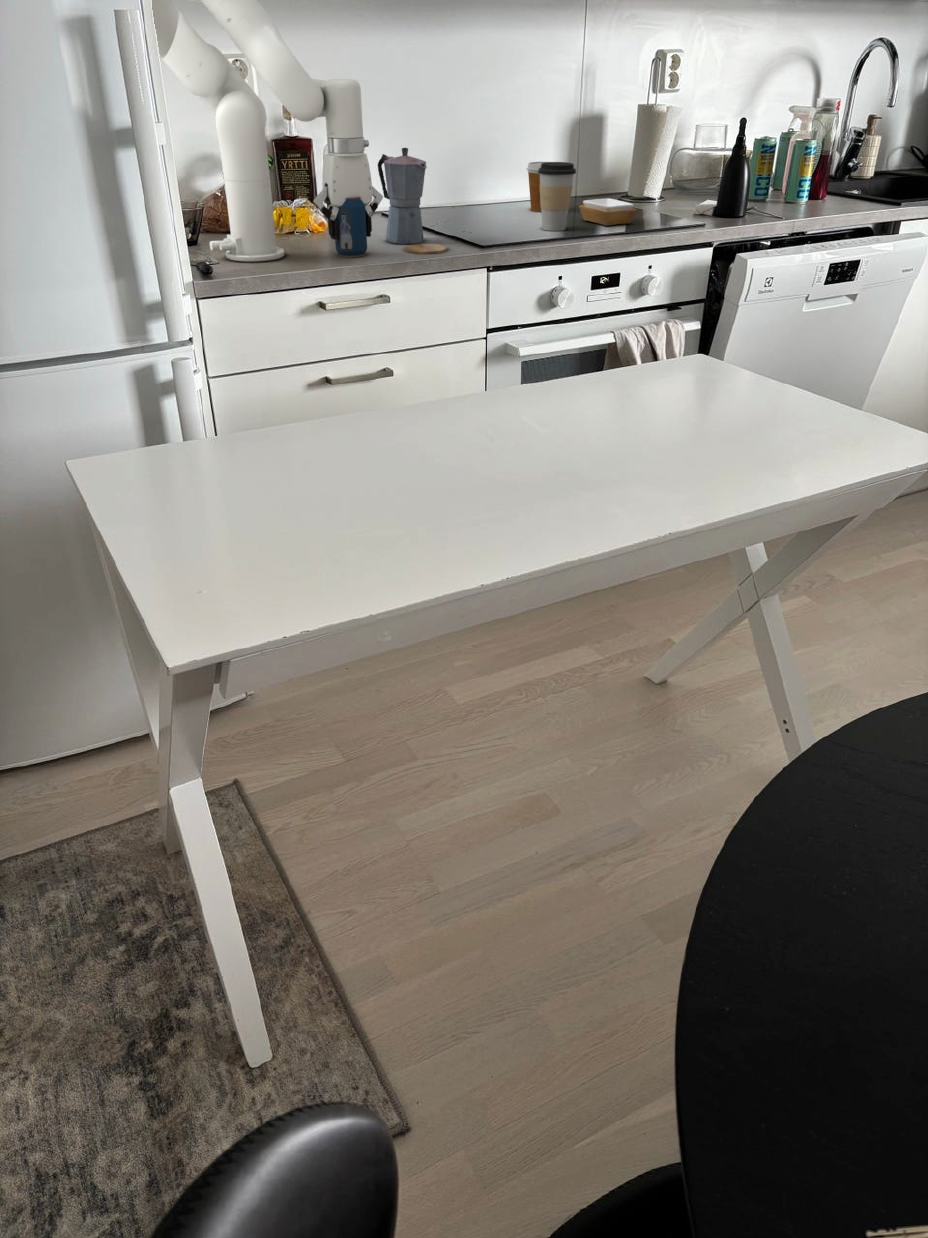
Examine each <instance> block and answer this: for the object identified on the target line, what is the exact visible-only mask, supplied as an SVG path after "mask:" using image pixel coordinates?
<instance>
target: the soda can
mask: <svg viewBox="0 0 928 1238" xmlns="http://www.w3.org/2000/svg"><path fill="white" fill-rule="evenodd" d="M336 220H338V222H339V237H340V239H339V240H335V241H334V243H335V251H336V252H337V254H338V256H339V257H342V258H361V257H364V256H365V255H366V252H367V250H368V237H367V233H366V213H365V204H364V203H363V201H362V200H361V197H356V198H346V200H345V202H344V203H343V205H342V206H340V207H339V211H338V214H337V216H336Z"/></svg>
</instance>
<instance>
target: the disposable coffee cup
mask: <svg viewBox="0 0 928 1238" xmlns="http://www.w3.org/2000/svg"><path fill="white" fill-rule="evenodd" d="M545 162H546V161H530V162H528V164H527V167H526V171H527V174H528V188H529V201H530V211H531V212H536V213H541V204H540V173H538V171H539V168H541V164H542V163H545Z"/></svg>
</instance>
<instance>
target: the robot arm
mask: <svg viewBox="0 0 928 1238" xmlns="http://www.w3.org/2000/svg"><path fill="white" fill-rule="evenodd" d="M189 1H191V2H196V3H202V4H203V6H204V7H205V8H206V9H207V10H208V12H209V13H210V14H211V16H212V17H213V18H214V19H215V21H216V22H217V23H218V24H219V25H220V27H221V28H222V30H224V32H225V33H226V34H227V36H228V37H229V38H230V40H231V41H232V42H233V43H234V45H235V46H236V47H237V49H238V50H239V51H240V53H241V54H242V55H243V57H244V58H245V59H246V61H248V62H249V64H251V66H252V67H253V68H254V70H256V72H257V73H258V75H259V76H260V77H261V78H262V80H263V81H264V83H265V84H266V85H267V87H268V88H269V89H270V90H271V91H272V92H273V94H274V95H275V97H276V98H277V99H278V100H279V102H280V103H281V104H282V106H283V107H284V108H285V109H286V110H287V112H288V113H289V114H290V115H291V116H292V117H293V118H294V119H296V120H298V121H300V122H306V123H307V122H311V121H314V120H315V119H317V118H322V117H324V118H325V127H326V128H325V129H326V142H327V145H326V146H327V153H326V154H324V155H323V164H322V178H321V179H322V184H321V185H322V187H321V188H322V190H321V191H320V192H318V194H317V195H316V196H315V198H314V199H313V204H314V206H315V207H316V208H317V209H318V210H319V212H320V213H321V214H322V215H323V216H324V217H325V219H327V226H328V234H329V236H330V239H331V240H339V239H340V237H339V222H338V220H336V216H337V214H338V211H339V207H340V206H342V205H343V203H344V202H345V200H346V198H356V197H361V200H362V201H363V203H364V204H365V213H366V233H367V238H370V237H372V231H373V223H372V217H374V214H375V212H376V211H377V210H378V208H379V205H380V203H381V202H382V201H383V200H384V199H383V198H384V195H383V194H382V193H381V192H380V191H378V190H377V189H376V187H374V186H373V182H372V181H373V180H372V174H371V167H370V163H369V158H368V155H367V153H365V148H367V147H369V146H370V141H369V139H365V137H364V128H363V127H364V126H363V108H362V107H363V105H362V90H361V89H362V88H361V85H360V82H358V80H356V79H352V78H332V79H327V80H324V79H317V78H312V77H311V76H310V74H309V73H308V72H307V70H305V68H304V67H303V65H302V64H301V63H300V62H299V60H298V59H297V58H296V56H295V55H294V53H293V52H292V51H291V48H289V47H288V45H287V43H286V41H285V40H284V39H283V37H282V35H281V33H280V32H279V28H278V27H277V25H276V24H275V22H274V21H273V19H272V17H271V16H270V15H269V14H268V12H267V11H266V10H265V9H264V7H263V6H262V4H260V2H259V1H258V0H189ZM152 10H153V17H154V24H155V29H156V34H157V41H158V47H159V54H160V56H159V58H161V60H162V61H163V62H164V63H165V64H166V66H167V67H168V68H169V70H170V71H171V72H172V73H173V74H174V76H176V78H177V79H178V80H179V82H180V83H181V84H182V86H183V87H184V88H185V90H187V92H189V93H190V94H192V95H194V96H196V97H199V99H200V100H201V101H202V102H203V103H204V104H205V106H206V107H207V108H208V109H209V110H210V111H211V113H212V114H213V115H214V116H215V117H214V118H215V129H216V135H217V136H216V137H217V141H218V142H217V143H218V147H219V152H220V153H219V154H220V159H221V165H222V175H223V176H222V177H223V181H224V190H225V198H226V205H227V215H228V223H229V231H230V234H226V237H225V238H223V240H210V241H209V248H210V251H212V252H214V251H221V252H223V251H224V252H225V258H226V259H228V260H230V261H235V262H249V263H251V262H254V263H255V262H267V261H274V260H279V259H282V258H284V256H285V250H284V248H281V247H279V246H277V236H276V226H275V225H276V224H275V216H274V206H273V195H272V186H271V185H272V184H271V177H270V167H269V166H270V165H269V158H268V157H269V156H268V147H267V140H266V129H265V128H266V126H267V111H266V107H265V105H264V103H263V102H262V100H261V99H260V97H259V96H258V94H257V93H256V92H255V90H253V88H252V87H251V86H250V85H249V84H248V82H247V81H246V80H245V79H244V77H243V76H242V75H241V74H240V73H239V71H238V70H237V69H236V68H235V67H234V66H233V64H232V63H231V62H230V61H229V59H228V58H227V57H226V56H225V55H224V54H223V52H222V51H221V50H219V49H218V48H217V47H216V46H215V45H213V44H210V43H209V42H206V41H205V40H204V38H203V37H202V36H201V35H200V34H199V33H198V32H197V31H196V30H195V28H194V27H193V26H192V25H191V23H190V22H189V21H188V20H187V18H186V17H185V15H183V13H182V12H181V11H180V10H179V9H178V8H177V7H176V5H175V4H174V3H173V1H172V0H152ZM325 204H326V205H327V206H328V207H326V205H325Z"/></svg>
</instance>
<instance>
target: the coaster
mask: <svg viewBox="0 0 928 1238" xmlns="http://www.w3.org/2000/svg"><path fill="white" fill-rule="evenodd" d="M405 251H406V252H408V253H411V254H419V255H432V254H441V253H445V252H446V251H447V247H446V246H445V245H442V244H435V243H417V244H410V245H408V246H405Z"/></svg>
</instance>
